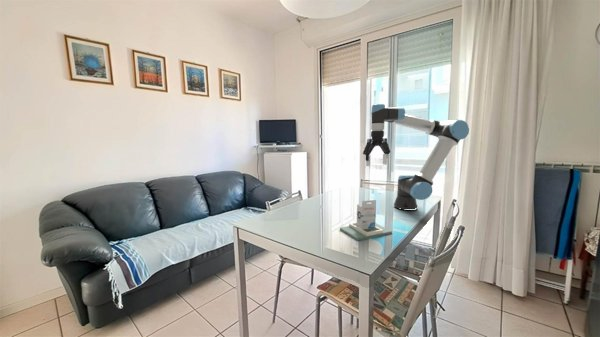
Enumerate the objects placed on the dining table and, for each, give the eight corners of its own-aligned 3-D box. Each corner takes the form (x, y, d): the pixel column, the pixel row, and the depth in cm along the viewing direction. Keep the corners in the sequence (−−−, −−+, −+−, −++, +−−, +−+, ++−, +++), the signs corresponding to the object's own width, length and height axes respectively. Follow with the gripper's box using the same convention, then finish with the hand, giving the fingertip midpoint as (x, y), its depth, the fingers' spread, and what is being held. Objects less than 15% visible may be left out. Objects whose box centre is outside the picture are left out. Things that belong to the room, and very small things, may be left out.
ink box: (370, 224, 133) (371, 197, 131) (375, 227, 128) (376, 199, 126) (356, 225, 130) (357, 198, 128) (360, 229, 126) (362, 201, 124)
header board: (372, 223, 141) (372, 219, 140) (391, 233, 127) (392, 228, 127) (339, 229, 132) (340, 224, 131) (357, 240, 118) (357, 235, 118)
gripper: (387, 130, 158) (386, 163, 161) (357, 130, 147) (356, 166, 150) (397, 130, 151) (395, 164, 154) (366, 130, 140) (365, 167, 143)
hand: (376, 165), depth 152 cm, fingers open, 13 cm apart
